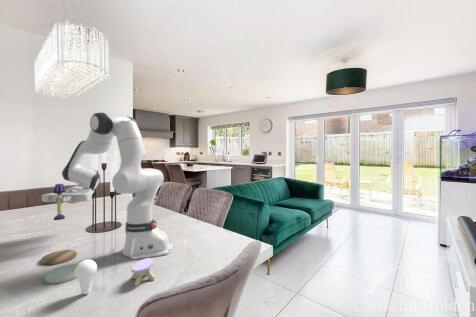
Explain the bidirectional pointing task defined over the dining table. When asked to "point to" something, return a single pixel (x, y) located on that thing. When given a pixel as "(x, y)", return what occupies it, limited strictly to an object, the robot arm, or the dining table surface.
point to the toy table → (143, 270)
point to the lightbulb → (85, 274)
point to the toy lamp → (59, 190)
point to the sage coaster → (61, 274)
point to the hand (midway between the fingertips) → (58, 200)
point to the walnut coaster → (58, 257)
